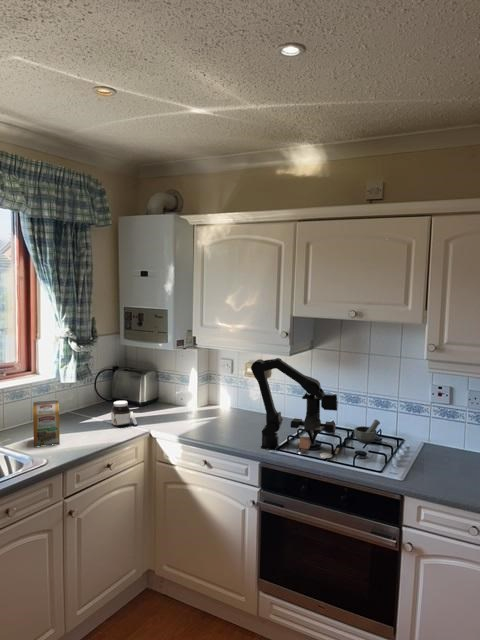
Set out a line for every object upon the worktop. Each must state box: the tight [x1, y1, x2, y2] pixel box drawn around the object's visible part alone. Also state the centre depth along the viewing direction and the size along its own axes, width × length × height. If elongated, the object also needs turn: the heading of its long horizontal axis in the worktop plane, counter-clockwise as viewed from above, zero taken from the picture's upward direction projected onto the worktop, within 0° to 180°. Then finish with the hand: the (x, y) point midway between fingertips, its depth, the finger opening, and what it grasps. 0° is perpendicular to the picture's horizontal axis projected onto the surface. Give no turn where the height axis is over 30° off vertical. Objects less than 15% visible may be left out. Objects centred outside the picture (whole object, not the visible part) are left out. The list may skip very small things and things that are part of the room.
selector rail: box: [294, 442, 340, 455], centre depth 212 cm, size 18×6×2 cm, turn 70°
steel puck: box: [296, 449, 310, 456], centre depth 207 cm, size 5×5×2 cm
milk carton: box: [32, 399, 61, 447], centre depth 219 cm, size 11×11×19 cm
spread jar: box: [110, 400, 138, 428], centre depth 246 cm, size 12×11×12 cm
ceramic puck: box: [319, 452, 333, 459], centre depth 204 cm, size 5×5×2 cm
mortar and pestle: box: [353, 419, 381, 445], centre depth 221 cm, size 11×9×12 cm
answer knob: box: [298, 436, 311, 450], centre depth 213 cm, size 4×4×4 cm
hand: (312, 444), depth 212 cm, fingers closed
